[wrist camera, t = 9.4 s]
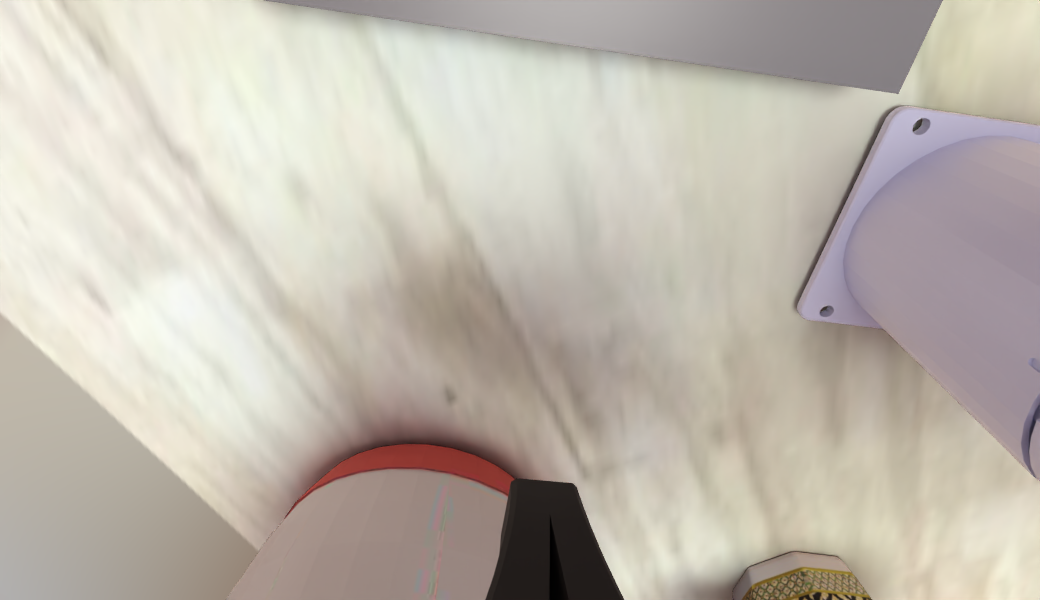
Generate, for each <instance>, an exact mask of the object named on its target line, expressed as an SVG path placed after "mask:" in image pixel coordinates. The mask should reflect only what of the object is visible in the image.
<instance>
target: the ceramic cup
mask: <svg viewBox="0 0 1040 600" xmlns="http://www.w3.org/2000/svg"><path fill="white" fill-rule="evenodd" d="M733 600H872V599H871V598H870V596H869V595H868V594H867V592H866V591H865V590H864V588H863V587H862V585H861V584H860V583H859V581H858V580H857V578H856V577H855V576H854V575H853V574H852V572H851V571H850V570H849V568H848V567H847V566H846V564H845V563H844V562H843V561H842V560H840V559H839V558H838V557H835V556H827V555H818V554H810V553H801V552H791V553H788V554H785V555H782V556H779V557H776V558H774V559H771V560H768V561H765V562H762V563H759V564H757V565H754V566H751V567H749V568H747V570H746V571H745V573H744V574H743V576H742V577H741V579H740V580H739V582H738V583H737V585H736V586H735V588H734V589H733Z"/></svg>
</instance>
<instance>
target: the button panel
mask: <svg viewBox="0 0 1040 600" xmlns="http://www.w3.org/2000/svg"><path fill="white" fill-rule="evenodd" d="M266 1H272V2H279V3H286V4H293V5H299V6H306V7H313V8H320V9H327V10H333V11H340V12H347V13H354V14H360V15H367V16H374V17H381V18H388V19H394V20H401V21H408V22H415V23H421V24H428V25H435V26H442V27H449V28H455V29H462V30H469V31H476V32H482V33H489V34H496V35H503V36H510V37H516V38H523V39H530V40H537V41H544V42H550V43H557V44H564V45H571V46H577V47H584V48H591V49H598V50H605V51H611V52H618V53H625V54H632V55H638V56H645V57H652V58H659V59H666V60H672V61H679V62H686V63H693V64H699V65H706V66H713V67H720V68H727V69H733V70H740V71H747V72H754V73H760V74H767V75H774V76H781V77H788V78H794V79H801V80H808V81H815V82H821V83H828V84H835V85H842V86H849V87H855V88H862V89H869V90H876V91H882V92H889V93H896V94H898V93H899V91H900V89H901V87H902V85H903V83H904V81H905V79H906V77H907V74H908V72H909V70H910V68H911V66H912V64H913V62H914V60H915V58H916V55H917V53H918V51H919V49H920V47H921V45H922V43H923V41H924V39H925V37H926V34H927V32H928V30H929V28H930V26H931V24H932V22H933V20H934V18H935V16H936V13H937V11H938V9H939V7H940V5H941V3H942V1H943V0H266Z"/></svg>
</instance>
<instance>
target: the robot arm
mask: <svg viewBox="0 0 1040 600" xmlns="http://www.w3.org/2000/svg"><path fill="white" fill-rule="evenodd" d="M921 118H922V120H923V121H922V125H921V126H920V127H919V129H917V130H916V131H914V132H913V130H912V129H913V125H914V124H915V123H916V122H917V121H918V120H920V119H921ZM825 306H828V308H827V309H826V310H824V311H821V312H820V310H821V309H822V308H823V307H825ZM797 311H798V313H799V314H800V315H801V316H802V317H803V318H804V319H807V320H812V321H821V322H829V323H837V324H846V325H854V326H863V327H871V328H880V329H884V330H885V331H886V332H887V333H888V334H889V335H890V336H891V337H892V338H893V339H894V340H895V341H896V342H897V343H898V344H899V345H901V346H902V347H903V348H904V349H905V350H906V351H907V352H908V353H909V354H910V355H911V356H912V357H913V358H914V359H915V360H916V361H917V362H918V363H919V364H920V365H921V366H922V367H923V368H924V369H925V370H926V371H927V372H928V373H929V374H930V375H931V376H932V377H933V378H934V379H935V380H936V381H937V382H938V383H939V384H940V385H941V386H942V387H943V388H944V389H945V390H946V391H947V392H948V393H949V394H950V395H951V396H952V397H953V398H954V399H955V400H956V401H957V402H958V403H959V404H960V405H961V406H962V407H964V408H965V409H966V410H967V411H968V412H969V413H970V414H971V415H972V416H973V417H974V418H975V419H976V420H977V421H978V422H979V423H980V424H981V425H982V426H983V427H984V428H985V429H986V430H987V431H988V432H989V433H990V434H991V435H992V436H993V437H994V438H995V439H996V440H997V441H998V442H999V443H1000V444H1001V445H1002V446H1003V447H1004V448H1005V449H1006V450H1007V451H1008V452H1009V453H1010V454H1011V455H1012V456H1013V457H1014V458H1015V459H1016V460H1017V461H1018V462H1019V463H1020V464H1021V465H1022V466H1023V467H1024V468H1026V469H1027V470H1028V471H1029V472H1030V473H1031V474H1032V475H1033V476H1034V477H1035V478H1036V479H1038V480H1039V481H1040V125H1036V124H1029V123H1022V122H1015V121H1008V120H1002V119H995V118H988V117H981V116H974V115H967V114H961V113H954V112H947V111H940V110H933V109H926V108H920V107H913V106H901V107H898V108H896V109H894V110H893V111H892V112H891V113H889V115H888V116H887V118H886V119H885V121H884V123H883V125H882V127H881V129H880V132H879V134H878V136H877V138H876V140H875V142H874V144H873V146H872V148H871V151H870V153H869V155H868V157H867V159H866V161H865V163H864V165H863V167H862V169H861V172H860V174H859V176H858V178H857V180H856V182H855V184H854V186H853V188H852V191H851V193H850V195H849V197H848V199H847V201H846V203H845V205H844V207H843V210H842V212H841V214H840V216H839V218H838V220H837V222H836V224H835V226H834V228H833V231H832V233H831V235H830V237H829V239H828V241H827V243H826V245H825V247H824V250H823V252H822V254H821V256H820V258H819V260H818V262H817V264H816V266H815V269H814V271H813V273H812V275H811V277H810V279H809V281H808V283H807V285H806V287H805V290H804V292H803V294H802V296H801V298H800V300H799V302H798V305H797ZM485 600H624V598H623V596H622V594H621V592H620V590H619V588H618V586H617V584H616V582H615V580H614V578H613V576H612V573H611V571H610V569H609V567H608V565H607V563H606V561H605V558H604V556H603V554H602V552H601V549H600V547H599V545H598V542H597V540H596V538H595V535H594V533H593V530H592V528H591V526H590V523H589V520H588V518H587V515H586V513H585V510H584V507H583V504H582V502H581V499H580V496H579V493H578V490H577V487H576V486H575V485H574V484H573V483H563V482H552V481H540V480H528V479H515V480H513V481H511V484H510V489H509V494H508V500H507V505H506V510H505V515H504V521H503V526H502V531H501V540H500V551H499V558H498V561H497V565H496V568H495V572H494V575H493V578H492V582H491V585H490V587H489V590H488V593H487V596H486V599H485Z"/></svg>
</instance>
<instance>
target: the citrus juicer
mask: <svg viewBox="0 0 1040 600" xmlns="http://www.w3.org/2000/svg"><path fill="white" fill-rule="evenodd" d="M513 480H515V479H514V478H513V477H512V476H511V475H509V474H508V473H506V472H505V471H503V470H502V469H501V468H499V467H498V466H496V465H495V464H492V463H490V462H488V461H486V460H484V459H482V458H480V457H478V456H476V455H473V454H469V453H466V452H463V451H459V450H456V449H453V448H447V447H441V446H434V445H428V444H400V445H393V446H385V447H379V448H375V449H372V450H368V451H365V452H362V453H358V454H356V455H354V456H352V457H350V458H348V459H346V460H344V461H342V462H340V463H339V464H338V465H337V466H336V467H334V468H333V469H332V470H331V471H329V472H328V473H327V474H326V475H325V476H324V477H322V478H321V479H320V480H319V481H318V482H317V483H316V484H314V485H313V486H312V487H311V488H310V489H309V490H308V491H307V492H306V493H305V494H304V495H303V496H302V497H301V498H300V499H299V500H298V501H297V502H296V503H295V504H294V506H293V507H292V508H291V510H290V511H289V513H288V514H287V515H286V517H285V519H284V521H283V522H282V523H281V524H280V525H279V526H278V528H277V529H276V530H275V531H274V532H273V533H272V535H271V536H270V537H269V538H268V539H267V541H266V542H265V544H264V545H263V546H262V548H261V549H260V551H259V552H258V553H257V555H256V556H255V558H254V559H253V561H252V562H251V564H250V565H249V566H248V568H247V569H246V571H245V572H244V574H243V575H242V577H241V578H240V580H239V581H238V583H237V584H236V585H235V587H234V588H233V590H232V591H231V593H230V594H229V595H228V597H227V598H226V600H485V599H486V596H487V593H488V590H489V587H490V585H491V582H492V578H493V575H494V572H495V568H496V565H497V561H498V558H499V551H500V540H501V531H502V526H503V521H504V515H505V510H506V505H507V500H508V494H509V489H510V484H511V481H513Z"/></svg>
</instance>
